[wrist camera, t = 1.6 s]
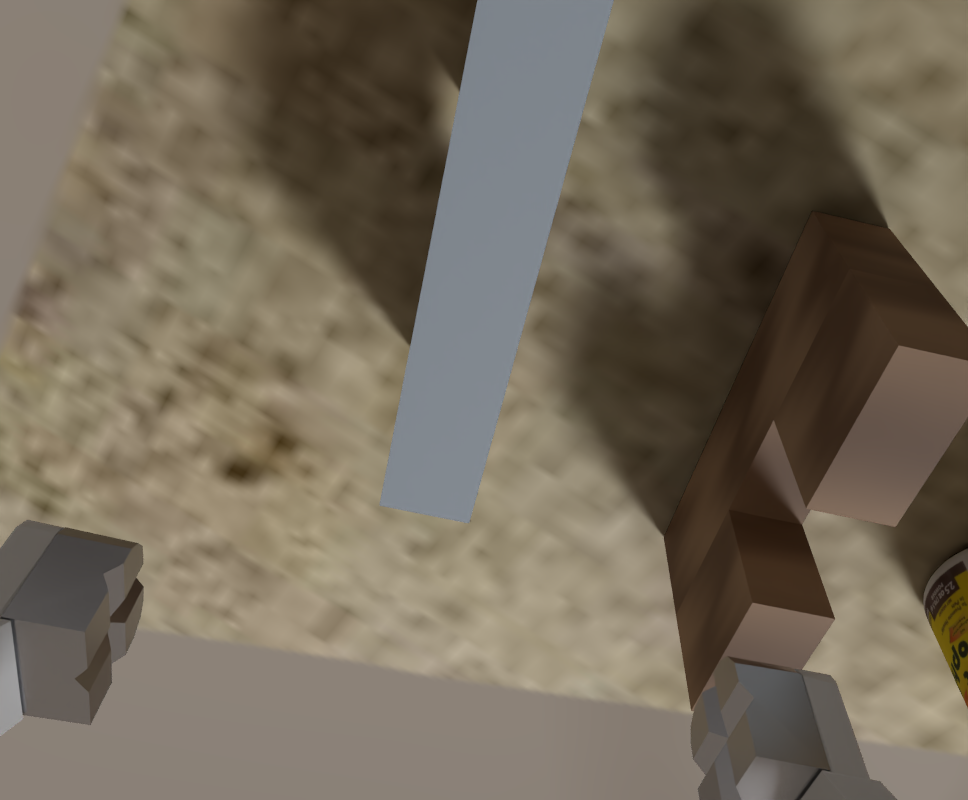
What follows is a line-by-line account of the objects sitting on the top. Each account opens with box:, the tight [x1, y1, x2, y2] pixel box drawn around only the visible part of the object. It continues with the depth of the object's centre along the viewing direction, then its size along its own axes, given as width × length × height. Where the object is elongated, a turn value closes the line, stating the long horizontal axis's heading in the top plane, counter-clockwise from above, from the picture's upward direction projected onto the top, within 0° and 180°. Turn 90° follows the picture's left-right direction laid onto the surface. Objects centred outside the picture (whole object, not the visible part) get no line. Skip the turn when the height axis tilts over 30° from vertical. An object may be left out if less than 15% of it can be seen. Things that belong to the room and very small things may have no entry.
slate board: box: [380, 0, 614, 523], centre depth 23 cm, size 14×2×8 cm, turn 168°
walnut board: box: [664, 211, 968, 711], centre depth 28 cm, size 14×2×8 cm, turn 168°
